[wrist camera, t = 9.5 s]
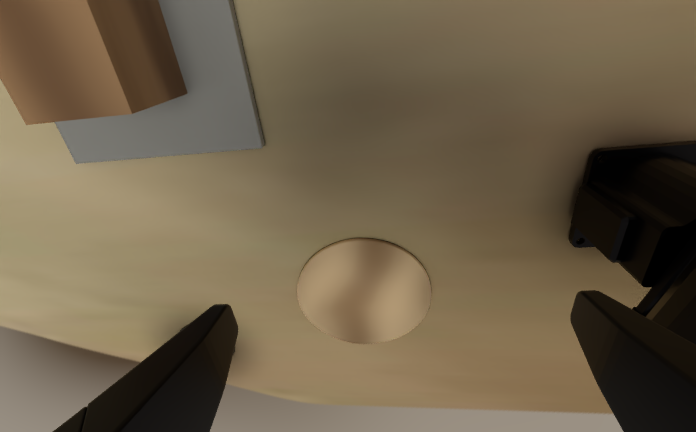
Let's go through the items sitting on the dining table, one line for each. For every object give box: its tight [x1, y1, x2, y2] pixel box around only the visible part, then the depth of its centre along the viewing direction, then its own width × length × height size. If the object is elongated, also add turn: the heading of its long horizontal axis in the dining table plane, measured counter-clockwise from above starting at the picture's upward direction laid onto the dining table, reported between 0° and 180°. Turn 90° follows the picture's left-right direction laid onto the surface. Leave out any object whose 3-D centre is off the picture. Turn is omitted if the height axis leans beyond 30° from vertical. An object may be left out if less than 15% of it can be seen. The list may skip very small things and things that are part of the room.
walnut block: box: [0, 0, 188, 125], centre depth 16 cm, size 5×5×5 cm
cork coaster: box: [297, 238, 432, 344], centre depth 26 cm, size 10×10×1 cm
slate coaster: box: [55, 0, 265, 164], centre depth 18 cm, size 12×12×1 cm
